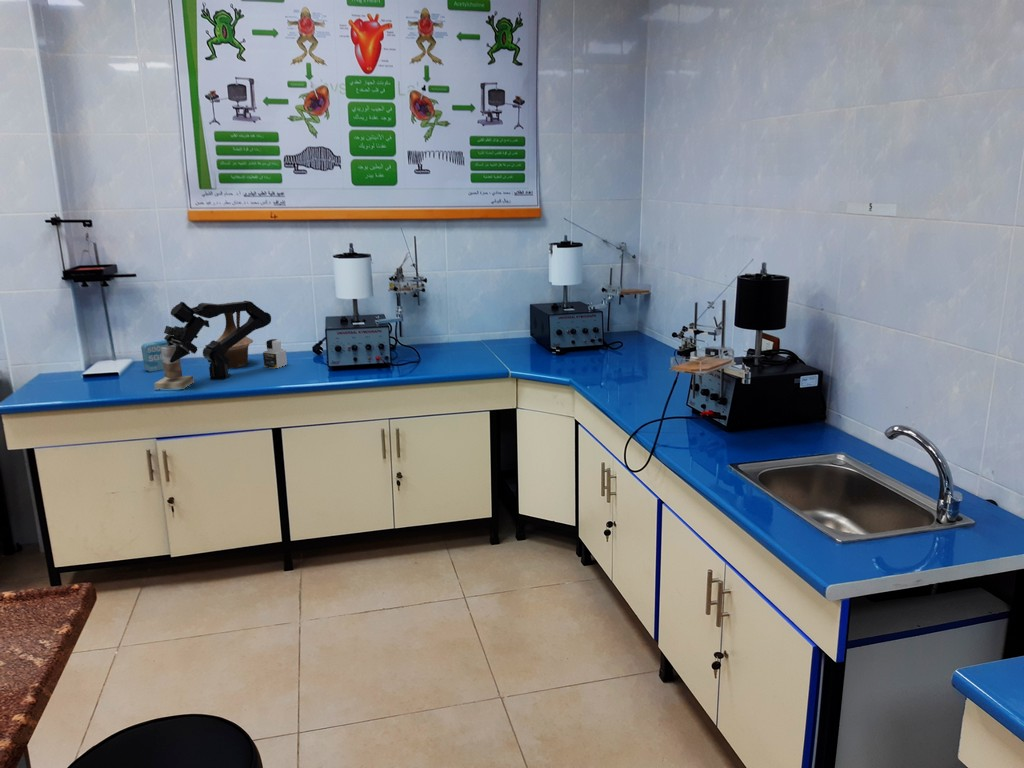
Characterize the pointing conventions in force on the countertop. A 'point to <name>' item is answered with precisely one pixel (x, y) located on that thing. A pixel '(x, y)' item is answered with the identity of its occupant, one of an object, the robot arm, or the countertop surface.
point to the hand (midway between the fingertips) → (167, 361)
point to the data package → (153, 355)
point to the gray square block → (170, 368)
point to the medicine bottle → (274, 354)
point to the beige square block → (174, 382)
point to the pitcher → (240, 349)
